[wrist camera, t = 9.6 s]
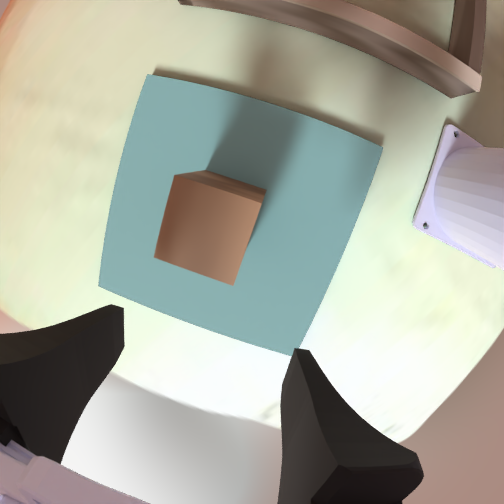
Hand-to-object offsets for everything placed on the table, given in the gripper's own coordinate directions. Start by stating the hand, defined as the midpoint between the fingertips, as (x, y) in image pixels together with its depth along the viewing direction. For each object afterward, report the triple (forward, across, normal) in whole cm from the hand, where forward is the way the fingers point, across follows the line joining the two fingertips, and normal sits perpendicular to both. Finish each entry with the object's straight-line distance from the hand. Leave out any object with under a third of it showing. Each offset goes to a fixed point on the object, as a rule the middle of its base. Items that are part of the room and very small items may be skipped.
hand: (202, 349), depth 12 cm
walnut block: (+9, +1, -4) cm, 10 cm away
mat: (+9, +1, -3) cm, 10 cm away
